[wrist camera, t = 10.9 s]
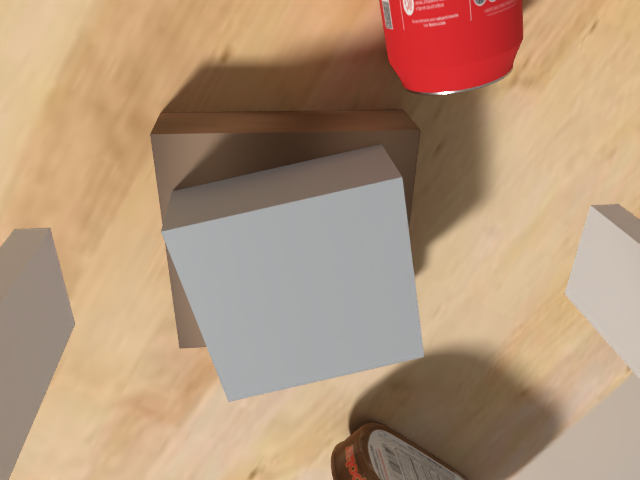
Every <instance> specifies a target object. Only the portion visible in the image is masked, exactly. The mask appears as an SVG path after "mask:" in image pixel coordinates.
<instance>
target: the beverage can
mask: <svg viewBox="0 0 640 480" xmlns="http://www.w3.org/2000/svg"><path fill="white" fill-rule="evenodd" d="M379 1H380V8H381V15H382V21H383V28H384V34H385V41H386V47H387V54H388V60H389V63H390V64H391V66H392V67H393V69H394V70H395V72H396V73H397V75H398V76H399V78H400V80H401V82H402V86H403V88H404V89H405V90H407V91H409V92H412V93H416V94H424V95H441V94H452V93H459V92H464V91H469V90H474V89H478V88H481V87H484V86H487V85H490V84H493V83H495V82H497V81H499V80H501V79H503V78H505V77H506V76H508V75H509V74H510V73H511V72H512V70H513V62H514V59H515V56H516V54H517V51H518V49H519V47H520V44H521V42H522V40H523V11H522V0H379Z"/></svg>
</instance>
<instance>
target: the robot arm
mask: <svg viewBox="0 0 640 480" xmlns="http://www.w3.org/2000/svg"><path fill="white" fill-rule="evenodd" d="M565 295H566V296H567V297H568V298H569V300H570V301H571V302H572V303H573V304H574V305H575V306H576V307H577V309H578V310H579V311H580V312H581V313H582V314H583V315H584V317H585V318H586V319H587V320H588V321H589V322H590V323H591V324H592V326H593V327H594V328H595V329H596V330H597V331H598V332H599V334H600V335H601V336H602V337H603V338H604V339H605V340H606V341H607V343H608V344H609V345H610V346H611V347H612V348H613V349H614V351H615V352H616V353H617V354H618V355H619V356H620V357H621V359H622V360H623V361H624V362H625V363H626V364H627V365H628V366H629V368H630V369H631V370H632V371H633V372H634V373H635V374H636V376H637V377H638V378H639V379H640V219H638V218H637V217H635V216H634V215H633V214H631V213H630V212H629V211H627V210H626V209H624V208H623V207H622V206H620V205H619V204H610V205H591V206H590V209H589V212H588V216H587V219H586V223H585V226H584V230H583V233H582V236H581V240H580V243H579V247H578V250H577V253H576V257H575V260H574V264H573V267H572V271H571V274H570V277H569V281H568V284H567V288H566V291H565ZM74 325H75V321H74V317H73V314H72V310H71V306H70V302H69V298H68V294H67V291H66V287H65V283H64V279H63V275H62V272H61V268H60V264H59V260H58V256H57V252H56V249H55V245H54V241H53V237H52V233H51V229H50V228H31V229H14V230H13V232H12V233H11V234H10V236H9V237H8V238H7V240H6V241H5V242H4V243H3V245H2V246H1V247H0V480H9V478H10V475H11V473H12V471H13V468H14V466H15V464H16V461H17V459H18V457H19V454H20V452H21V450H22V447H23V445H24V443H25V440H26V438H27V436H28V433H29V431H30V428H31V426H32V424H33V421H34V419H35V417H36V414H37V412H38V410H39V407H40V405H41V403H42V400H43V398H44V396H45V393H46V391H47V389H48V386H49V384H50V382H51V379H52V377H53V375H54V372H55V370H56V368H57V365H58V363H59V361H60V358H61V356H62V354H63V351H64V349H65V347H66V344H67V342H68V340H69V337H70V335H71V332H72V330H73V328H74Z"/></svg>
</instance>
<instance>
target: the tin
mask: <svg viewBox="0 0 640 480" xmlns="http://www.w3.org/2000/svg"><path fill="white" fill-rule="evenodd" d="M331 469H332V476H333V480H466V479H465V478H464V477H463V476H462V475H461V474H459V473H458V472H457V471H455V470H454V469H452V468H451V467H449V466H448V465H446V464H445V463H443V462H441V461H440V460H438V459H437V458H435V457H434V456H432V455H431V454H429V453H428V452H426V451H425V450H423V449H422V448H420V447H418V446H417V445H415V444H414V443H412V442H411V441H409V440H408V439H406V438H404V437H403V436H401V435H400V434H398V433H397V432H395V431H393V430H392V429H390V428H388V427H386V426H384V425H382V424H379V423H374V422H371V423H367V424H365V425H363V426H361V427H360V428H359V429H357V430H356V431H355V432H354V433H353V434H352V435H350V436H349V437H348V438H347V439H346V440H345V441H343V442H340V443H339V444H337V445H336V446H335V448H334V450H333V452H332V456H331Z"/></svg>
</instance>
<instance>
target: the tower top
mask: <svg viewBox="0 0 640 480" xmlns="http://www.w3.org/2000/svg"><path fill="white" fill-rule="evenodd" d="M161 233H162V235H163V238H164V240H165V243H166V246H167V248H168V251H169V253H170V256H171V258H172V261H173V263H174V266H175V268H176V271H177V273H178V276H179V278H180V281H181V283H182V286H183V288H184V291H185V293H186V296H187V298H188V301H189V303H190V306H191V308H192V311H193V313H194V316H195V318H196V321H197V324H198V326H199V329H200V331H201V334H202V336H203V339H204V341H205V344H206V346H207V349H208V351H209V354H210V356H211V359H212V361H213V364H214V366H215V369H216V371H217V374H218V376H219V379H220V381H221V384H222V386H223V389H224V391H225V394H226V396H227V399H228V402H230V401H235V400H239V399H243V398H248V397H252V396H256V395H261V394H265V393H269V392H274V391H278V390H283V389H287V388H291V387H296V386H300V385H304V384H309V383H313V382H317V381H322V380H326V379H330V378H335V377H339V376H344V375H348V374H352V373H357V372H361V371H365V370H370V369H374V368H378V367H383V366H387V365H391V364H396V363H400V362H405V361H409V360H413V359H418V358H422V357H424V351H423V343H422V335H421V327H420V318H419V310H418V302H417V294H416V286H415V277H414V269H413V261H412V253H411V245H410V236H409V228H408V220H407V212H406V203H405V195H404V187H403V179H402V176H401V174H400V173H399V171H398V169H397V168H396V166H395V165H394V163H393V162H392V160H391V158H390V157H389V155H388V154H387V152H386V150H385V149H384V147H383V146H382V144H379V145H375V146H370V147H366V148H361V149H357V150H353V151H348V152H344V153H339V154H335V155H331V156H326V157H322V158H317V159H313V160H308V161H304V162H300V163H295V164H291V165H286V166H282V167H277V168H273V169H269V170H264V171H260V172H255V173H251V174H247V175H242V176H238V177H233V178H229V179H224V180H220V181H216V182H211V183H207V184H202V185H198V186H194V187H189V188H185V189H180V190H176V191H172V194H171V197H170V201H169V204H168V208H167V212H166V215H165V219H164V223H163V226H162V230H161Z"/></svg>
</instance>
